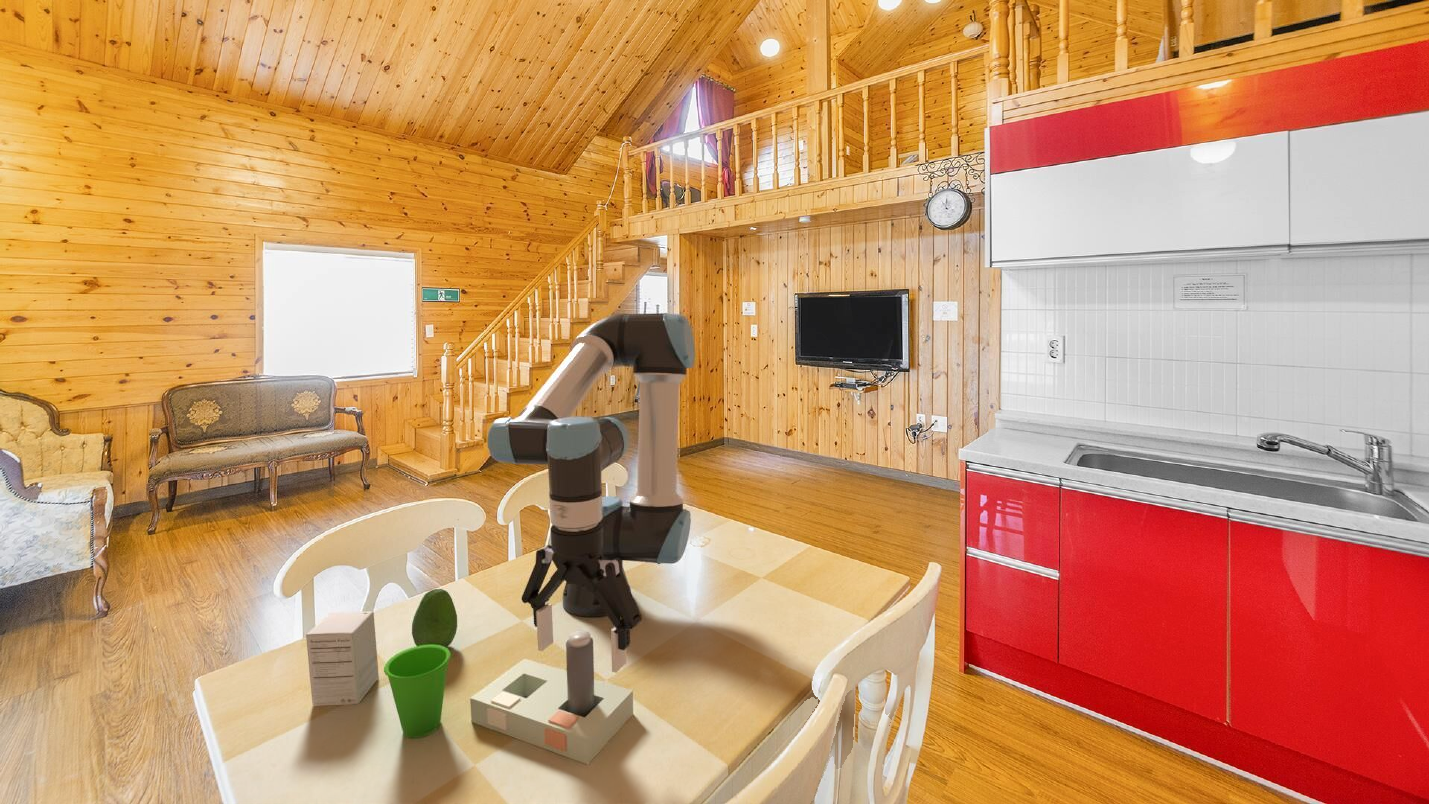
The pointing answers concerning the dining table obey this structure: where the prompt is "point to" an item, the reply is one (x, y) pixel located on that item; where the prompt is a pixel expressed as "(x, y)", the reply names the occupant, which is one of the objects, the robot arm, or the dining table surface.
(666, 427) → the robot arm
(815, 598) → the dining table surface
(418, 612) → the fruit
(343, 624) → the supplement box
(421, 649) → the cup
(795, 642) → the dining table surface
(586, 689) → the plug
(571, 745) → the socket strip
